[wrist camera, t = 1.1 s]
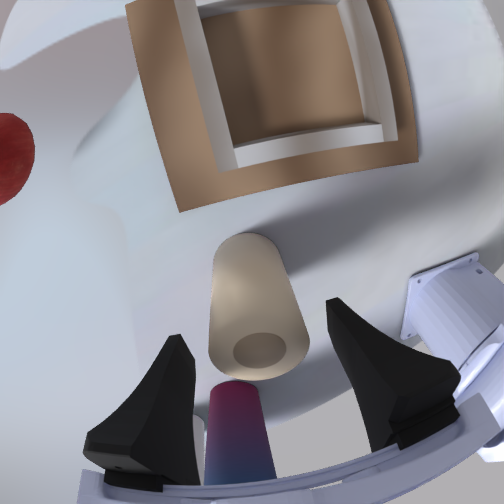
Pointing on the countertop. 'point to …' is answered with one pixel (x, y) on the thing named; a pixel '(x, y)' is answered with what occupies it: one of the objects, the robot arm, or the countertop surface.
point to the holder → (271, 92)
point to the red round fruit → (14, 155)
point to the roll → (254, 311)
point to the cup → (236, 437)
